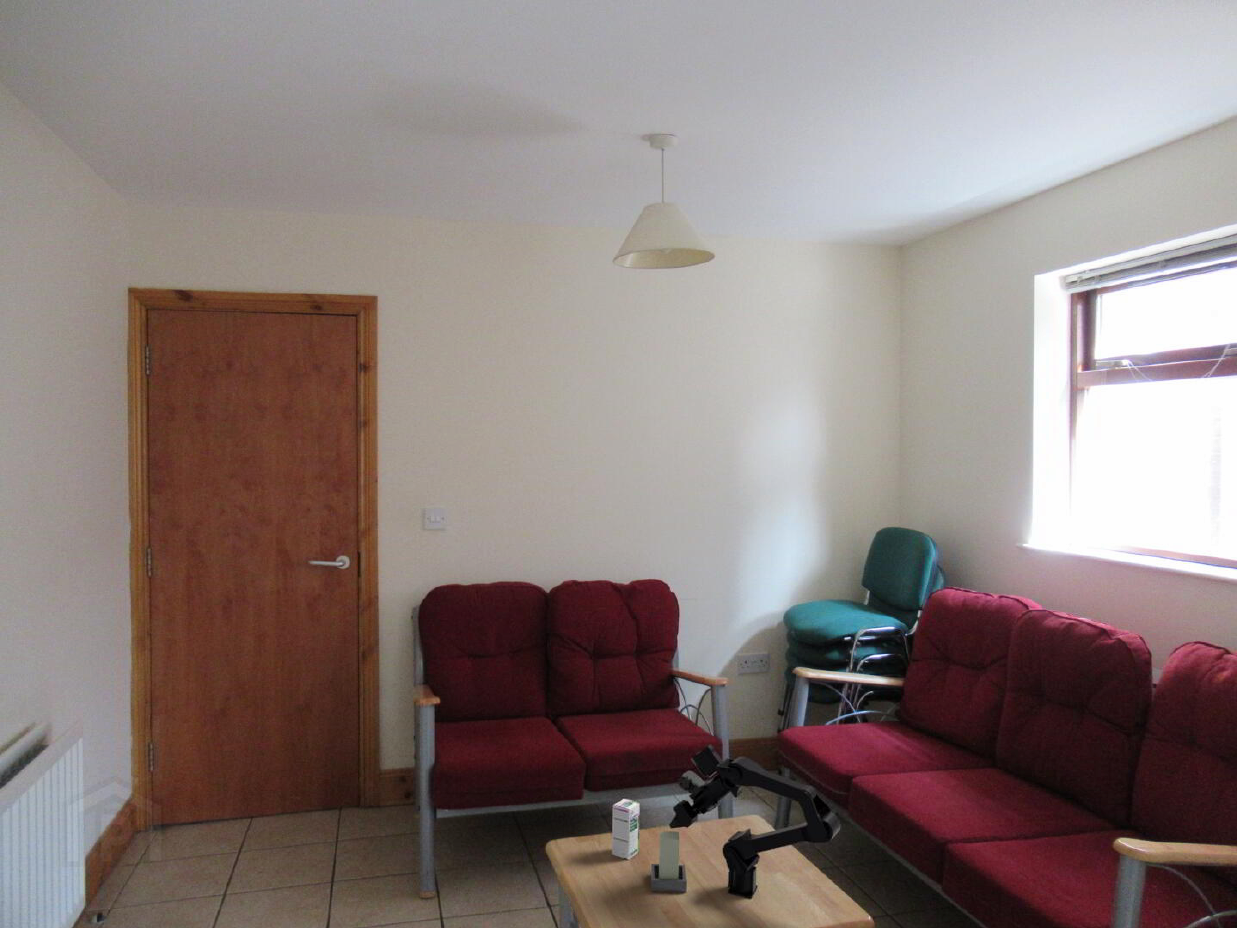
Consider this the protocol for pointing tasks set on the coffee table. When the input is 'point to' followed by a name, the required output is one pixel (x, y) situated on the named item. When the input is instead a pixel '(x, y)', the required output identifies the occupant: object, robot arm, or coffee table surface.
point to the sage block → (669, 855)
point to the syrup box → (625, 829)
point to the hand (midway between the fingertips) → (678, 820)
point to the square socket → (668, 881)
